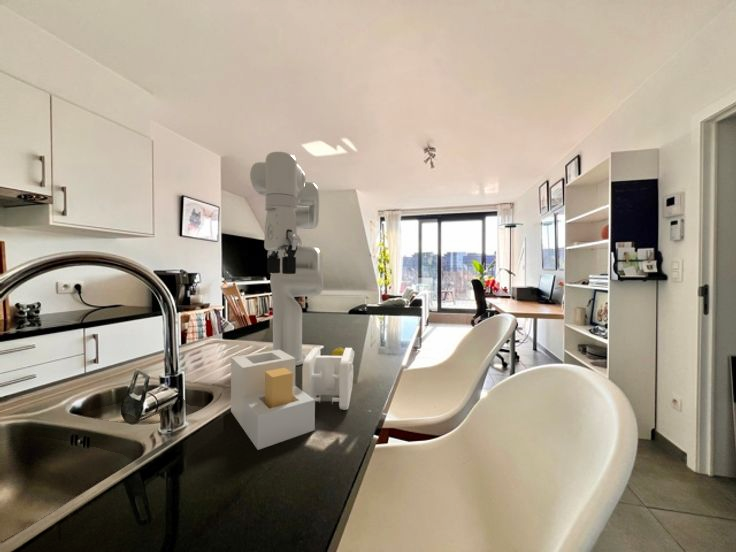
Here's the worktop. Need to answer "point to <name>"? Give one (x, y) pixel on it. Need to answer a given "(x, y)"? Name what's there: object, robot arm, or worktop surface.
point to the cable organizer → (328, 376)
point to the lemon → (338, 352)
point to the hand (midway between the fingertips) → (281, 273)
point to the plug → (278, 387)
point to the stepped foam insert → (250, 400)
